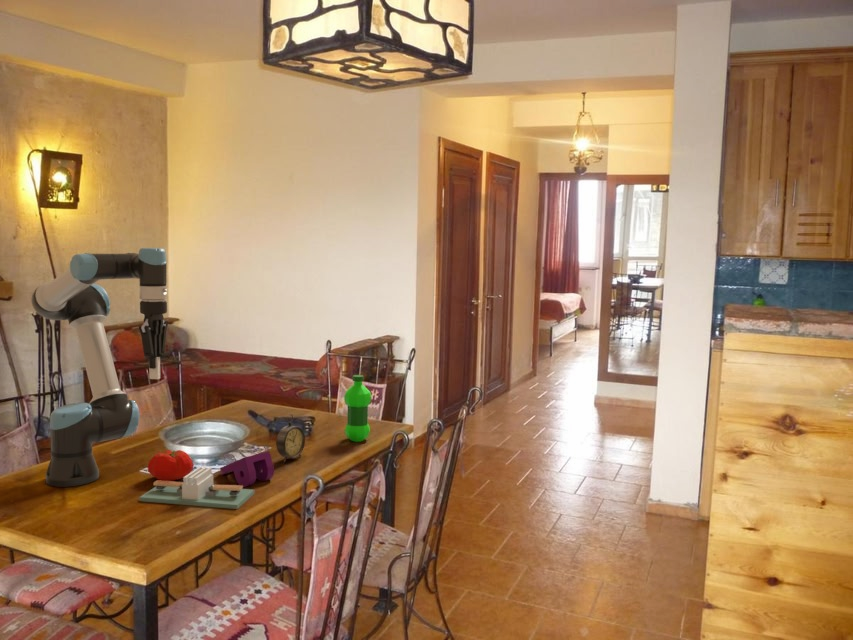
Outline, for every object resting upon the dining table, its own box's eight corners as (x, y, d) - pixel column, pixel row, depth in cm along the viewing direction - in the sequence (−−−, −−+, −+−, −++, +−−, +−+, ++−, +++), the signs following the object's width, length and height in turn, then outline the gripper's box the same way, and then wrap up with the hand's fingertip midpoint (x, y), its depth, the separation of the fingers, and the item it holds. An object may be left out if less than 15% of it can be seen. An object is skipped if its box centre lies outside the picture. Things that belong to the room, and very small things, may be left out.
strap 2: (208, 490, 217) (208, 486, 216) (212, 487, 219) (212, 483, 219) (239, 491, 215) (239, 487, 215) (243, 488, 218) (242, 484, 218)
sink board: (139, 501, 215) (138, 475, 214) (161, 486, 227) (161, 462, 226) (237, 509, 210) (237, 483, 209) (254, 493, 223) (254, 469, 222)
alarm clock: (285, 464, 251) (285, 418, 250) (273, 462, 254) (273, 416, 252) (305, 456, 261) (306, 412, 259) (294, 454, 264) (294, 409, 262)
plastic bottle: (365, 444, 278) (366, 379, 275) (339, 441, 281) (340, 377, 278) (374, 437, 287) (375, 374, 285) (349, 435, 290) (350, 372, 287)
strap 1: (153, 486, 219) (153, 482, 219) (157, 483, 222) (157, 479, 222) (183, 488, 218) (183, 484, 218) (187, 485, 220) (187, 481, 220)
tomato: (195, 470, 243) (195, 444, 242) (192, 483, 231) (192, 456, 230) (151, 473, 240) (150, 446, 239) (146, 485, 228) (145, 458, 227)
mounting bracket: (221, 495, 237) (252, 483, 226) (214, 470, 239) (244, 457, 228) (245, 488, 245) (276, 476, 233) (239, 463, 246) (269, 451, 235)
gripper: (153, 302, 211) (155, 383, 214) (176, 298, 224) (177, 375, 226) (129, 301, 212) (131, 382, 215) (152, 298, 225) (154, 374, 227)
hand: (154, 378), depth 220 cm, fingers closed
